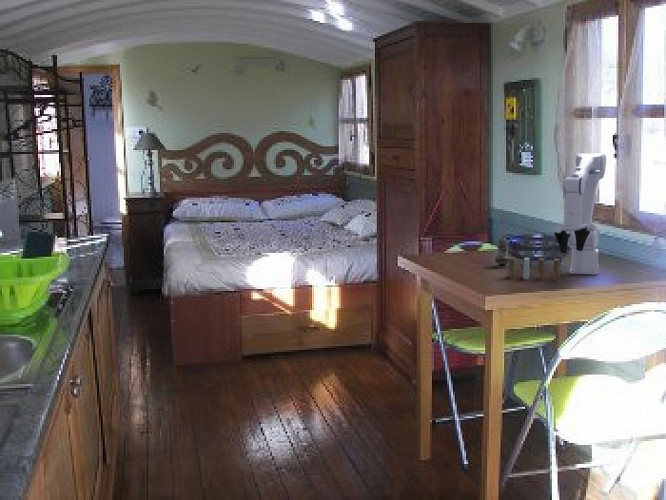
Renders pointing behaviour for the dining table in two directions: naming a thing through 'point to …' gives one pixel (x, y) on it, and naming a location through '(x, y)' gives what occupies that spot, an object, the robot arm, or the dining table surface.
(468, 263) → the dining table surface
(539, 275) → the domino
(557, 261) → the domino
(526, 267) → the domino
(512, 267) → the domino
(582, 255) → the robot arm
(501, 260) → the salt shaker
